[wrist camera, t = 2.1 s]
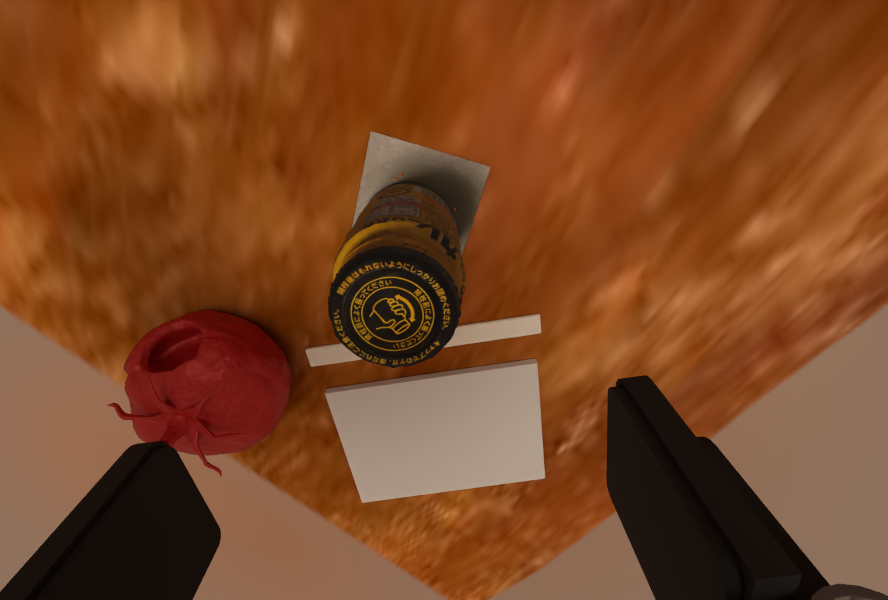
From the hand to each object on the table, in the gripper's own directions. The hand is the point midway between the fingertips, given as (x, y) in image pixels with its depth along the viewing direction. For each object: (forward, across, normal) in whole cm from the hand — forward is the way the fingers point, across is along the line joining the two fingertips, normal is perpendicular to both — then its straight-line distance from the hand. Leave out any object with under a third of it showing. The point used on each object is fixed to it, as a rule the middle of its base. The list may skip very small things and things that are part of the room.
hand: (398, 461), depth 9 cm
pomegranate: (+20, +15, +8) cm, 26 cm away
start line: (+20, +2, +8) cm, 22 cm away
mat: (+20, +2, +18) cm, 27 cm away
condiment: (+20, 0, 0) cm, 20 cm away
